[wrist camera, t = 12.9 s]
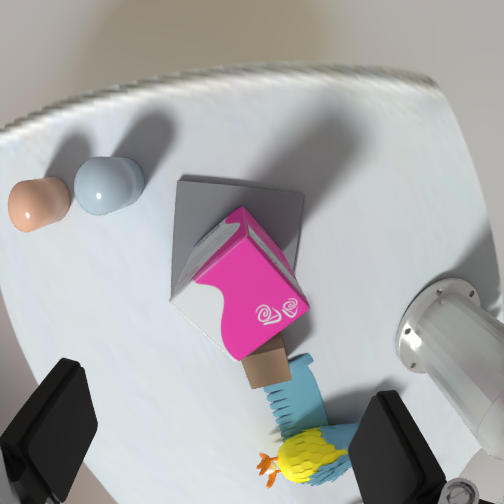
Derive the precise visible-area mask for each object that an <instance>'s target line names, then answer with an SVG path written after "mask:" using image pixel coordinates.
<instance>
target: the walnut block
mask: <svg viewBox="0 0 504 504" xmlns="http://www.w3.org/2000/svg"><path fill="white" fill-rule="evenodd" d="M241 362H242V364H243V367H244V370H245V372H246V375H247V378H248V381H249V383H250V386H251V388H252V389H256V388H260V387H265V386H269V385H273V384H278V383H282V382H286V381H290V380H292V376H291V372H290V367H289V363H288V358H287V354H286V351H285V347H284V343H283V339H282V336H281V332H279V333H277V334H276V335H275V336H273V337H272V338H271V339H269V340H268V341H267V342H265V343H264V344H262V345H261V346H260V347H258V348H257V349H256V350H254V351H253V352H251V353H250V354H249V355H247V356H246V357H245V358H243V359H241Z"/></svg>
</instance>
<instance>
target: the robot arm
mask: <svg viewBox="0 0 504 504" xmlns="http://www.w3.org/2000/svg"><path fill="white" fill-rule="evenodd" d="M396 350H397V355H398V357H399V359H400V361H401V362H402V363H403V365H404V366H405V367H406V368H407V369H408V370H410V371H412V372H415V373H421V374H423V373H427V374H428V375H429V377H430V378H431V379H432V381H433V382H434V383H435V384H436V386H437V387H438V388H439V390H440V391H441V392H442V393H443V395H444V396H445V397H446V399H447V400H448V401H449V403H450V404H451V405H452V407H453V408H454V409H455V411H456V412H457V413H458V415H459V416H460V417H461V419H462V420H463V422H464V423H465V424H466V426H467V427H468V428H469V430H470V431H471V433H472V434H473V435H474V437H475V438H476V440H477V441H478V442H479V444H480V445H481V446H482V448H483V449H484V450H485V451H486V452H487V453H488V454H489V455H490V456H492V457H494V458H496V459H499V460H504V324H503V323H501V322H500V321H499V320H497V319H496V318H495V317H493V316H492V315H491V314H489V313H488V312H486V311H485V310H484V309H482V308H481V306H480V299H479V295H478V293H477V291H476V289H475V288H474V287H473V286H472V285H471V284H470V283H468V282H467V281H465V280H462V279H460V278H447V279H443V280H440V281H438V282H436V283H434V284H432V285H431V286H429V287H428V288H426V289H425V290H424V291H423V292H422V293H420V295H419V296H418V297H417V298H416V299H415V300H414V301H413V302H412V304H411V305H410V307H409V308H408V309H407V311H406V313H405V315H404V316H403V318H402V320H401V323H400V326H399V328H398V332H397V337H396ZM97 427H98V422H97V418H96V415H95V411H94V407H93V404H92V400H91V396H90V392H89V387H88V383H87V379H86V374H85V370H84V368H83V367H81V365H80V363H79V362H77V361H74V360H70V359H67V358H61V359H60V360H59V362H58V363H57V364H56V365H55V366H54V368H53V369H52V370H51V371H50V373H49V374H48V375H47V376H46V378H45V379H44V380H43V381H42V383H41V384H40V385H39V386H38V388H37V389H36V390H35V391H34V393H33V394H32V395H31V397H30V398H29V399H28V401H27V402H26V403H25V404H24V406H23V407H22V408H21V410H20V411H19V412H18V413H17V415H16V416H15V417H14V419H13V420H12V422H11V423H10V424H9V426H8V427H7V428H6V430H5V431H4V433H3V434H2V436H1V437H0V504H45V503H48V504H60V502H64V501H65V500H66V498H67V496H68V493H69V491H70V489H71V486H72V484H73V482H74V479H75V477H76V475H77V472H78V470H79V468H80V466H81V464H82V462H83V459H84V457H85V455H86V453H87V451H88V448H89V446H90V444H91V442H92V440H93V438H94V436H95V434H96V431H97ZM348 455H349V458H350V461H351V465H352V468H353V471H354V474H355V477H356V480H357V483H358V487H359V490H360V493H361V496H362V499H363V503H364V504H494V503H491V502H488V501H484V500H481V499H479V492H478V489H477V487H476V486H475V484H473V483H472V482H471V481H469V480H467V479H463V478H455V479H452V480H450V481H448V482H447V481H446V479H445V478H446V476H445V474H444V472H443V471H442V469H441V467H440V465H439V463H438V462H437V460H436V458H435V456H434V454H433V453H432V451H431V449H430V447H429V445H428V444H427V442H426V440H425V438H424V437H423V435H422V433H421V432H420V430H419V428H418V426H417V425H416V423H415V421H414V420H413V418H412V416H411V414H410V413H409V411H408V409H407V408H406V406H405V404H404V403H403V401H402V399H401V398H400V396H399V394H398V393H397V392H396V391H395V390H391V391H379V392H378V393H377V394H376V396H373V397H372V399H371V401H370V403H369V405H368V407H367V410H366V412H365V414H364V416H363V418H362V420H361V422H360V424H359V427H358V429H357V431H356V433H355V435H354V437H353V439H352V440H351V442H350V444H349V447H348ZM495 504H504V496H503V497H502V498H501V499H500V500H499V501H498V502H496V503H495Z"/></svg>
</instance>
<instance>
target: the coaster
mask: <svg viewBox="0 0 504 504" xmlns="http://www.w3.org/2000/svg"><path fill="white" fill-rule="evenodd" d="M303 201H304V194H301V193H293V192H286V191H278V190H270V189H262V188H253V187H244V186H235V185H225V184H215V183H204V182H193V181H180V180H178V181H177V190H176V202H175V216H174V231H173V250H172V275H171V296H172V293H173V291H174V289H175V287H176V285H177V283H178V280H179V278H180V276H181V274H182V272H183V270H184V268H185V265H186V263H187V261H188V259H189V257H190V255H191V253H192V250H193V248H194V245H196V244H197V243H198V242H199V241H200V240H201V239H202V238H203V237H204V236H205V235H206V234H207V233H209V232H210V231H211V230H212V229H213V228H214V227H215V226H217V225H218V224H219V223H220V222H221V221H222V220H223V219H225V218H226V217H227V216H228V215H229V214H230V213H232V212H233V211H234V210H235V209H237V208H238V207H240V206H244V207H245V209H246V210H247V211H248V212H249V213H250V214H251V215H252V216H253V218H254V219H255V220H256V221H257V222H258V223H259V224H260V226H261V227H262V228H263V229H264V230H265V231H266V233H267V234H268V235H269V236H270V237H271V239H272V240H273V241H274V242H275V243H276V244H277V246H278V247H279V248H280V249H281V250H282V252H283V254H284V256H285V258H286V260H287V262H288V264H289V266H290V268H291V270H292V272H293V267H294V261H295V254H296V248H297V242H298V235H299V229H300V222H301V215H302V208H303Z"/></svg>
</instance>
